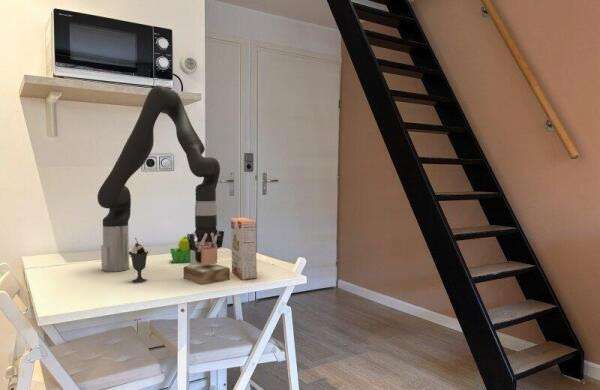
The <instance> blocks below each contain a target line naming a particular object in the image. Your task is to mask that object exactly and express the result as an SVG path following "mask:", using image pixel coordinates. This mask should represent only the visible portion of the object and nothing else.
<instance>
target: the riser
mask: <svg viewBox="0 0 600 390" xmlns="http://www.w3.org/2000/svg"><path fill="white" fill-rule="evenodd" d="M230 273H231V270H230V268H229V267H228V266H224V265H220V264H218V263H216V264H209V265H201V264H196V265H191V264H190V265H185V266H183V279H185V280H189V281H191V282H194V283H197V284H199V285H201V286H203V285H208V284H214V283H219V282H224V281H230V280H231V277H230V275H231V274H230Z"/></svg>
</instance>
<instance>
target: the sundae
mask: <svg viewBox="0 0 600 390" xmlns="http://www.w3.org/2000/svg"><path fill="white" fill-rule="evenodd" d="M134 240H137V238H136V237H134ZM134 245H135V246H133V249H132V250H131V251H129V256H130V257H131V263H132V267H133V268H132V269H134V270H135V271H136V272H137V277H136V278H134V279H133V280H131V282H132V283H135V284H136V283H137V284H138V283H145V282H147V281H148V280H147V279H146V278H143V277H142V271H143V270H145V268H146V265H147V257H148V254H149V253H150V252H149V251H148V250H146V249H145V248H144V245H142V244H140V243H139V241H136V242H135V244H134Z"/></svg>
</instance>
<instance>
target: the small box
mask: <svg viewBox="0 0 600 390" xmlns="http://www.w3.org/2000/svg"><path fill="white" fill-rule="evenodd" d="M194 240H195V245H196V241H197V238H195V239H194ZM205 246H210V244H209V242H206V243H204V245H203V246H202V247H205ZM189 263H190V265H196V264H197V263H196V260H195V251H193V250H190V262H189Z"/></svg>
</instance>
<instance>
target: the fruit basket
mask: <svg viewBox="0 0 600 390" xmlns="http://www.w3.org/2000/svg"><path fill="white" fill-rule="evenodd" d="M177 246H178V247H176V248H170V249H169V250H170V254H171V258H172V262H173V263H174V264H177V263H178V264H179V263H190V248H189V243H188V238H187V235H183V237H181V238H180V240H179V241H178V244H177Z"/></svg>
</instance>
